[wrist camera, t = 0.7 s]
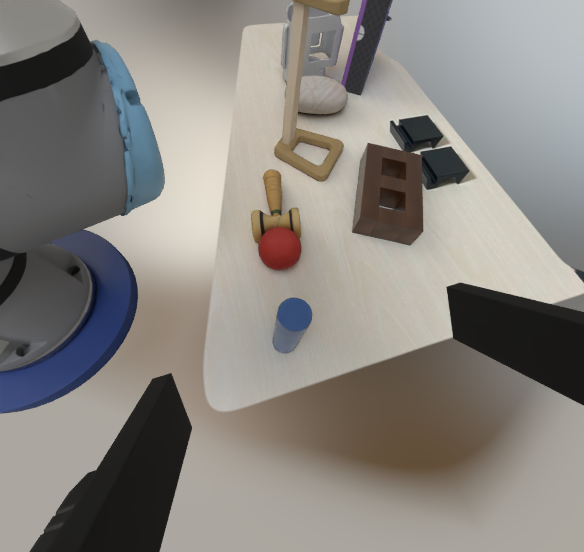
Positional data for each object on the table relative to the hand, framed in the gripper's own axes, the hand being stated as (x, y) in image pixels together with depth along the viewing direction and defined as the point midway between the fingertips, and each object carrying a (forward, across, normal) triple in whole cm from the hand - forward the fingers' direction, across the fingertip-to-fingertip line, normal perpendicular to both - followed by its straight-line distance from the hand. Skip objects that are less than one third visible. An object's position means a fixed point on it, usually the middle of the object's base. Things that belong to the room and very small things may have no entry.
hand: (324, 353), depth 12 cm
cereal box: (+56, +34, +35) cm, 75 cm away
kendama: (+32, +3, +6) cm, 33 cm away
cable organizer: (+55, +21, +35) cm, 69 cm away
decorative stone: (+49, +19, +27) cm, 59 cm away
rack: (+34, +23, +5) cm, 42 cm away
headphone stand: (+41, +13, +17) cm, 47 cm away
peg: (+22, -1, -9) cm, 24 cm away
